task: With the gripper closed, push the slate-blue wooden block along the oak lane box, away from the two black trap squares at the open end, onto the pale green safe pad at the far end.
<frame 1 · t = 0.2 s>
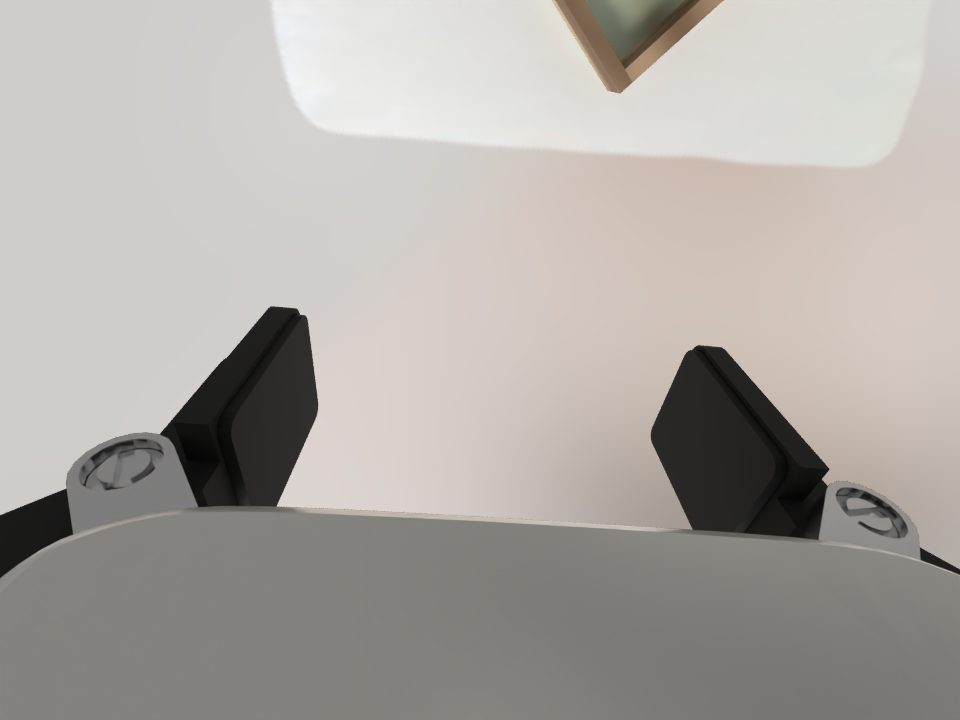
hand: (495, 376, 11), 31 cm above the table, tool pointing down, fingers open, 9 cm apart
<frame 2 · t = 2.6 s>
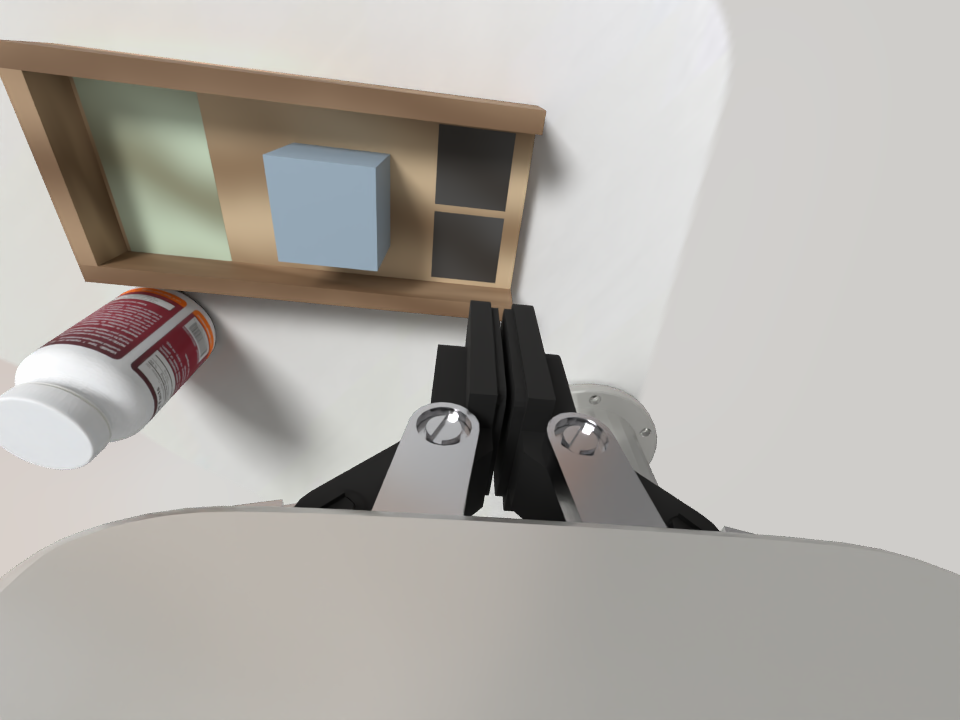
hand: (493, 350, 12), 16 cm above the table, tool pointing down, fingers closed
pill bottle: (174, 322, 30), on the table
block: (345, 197, 24), point 1 cm above the table, touching lane box
lane box: (314, 189, 25), on the table
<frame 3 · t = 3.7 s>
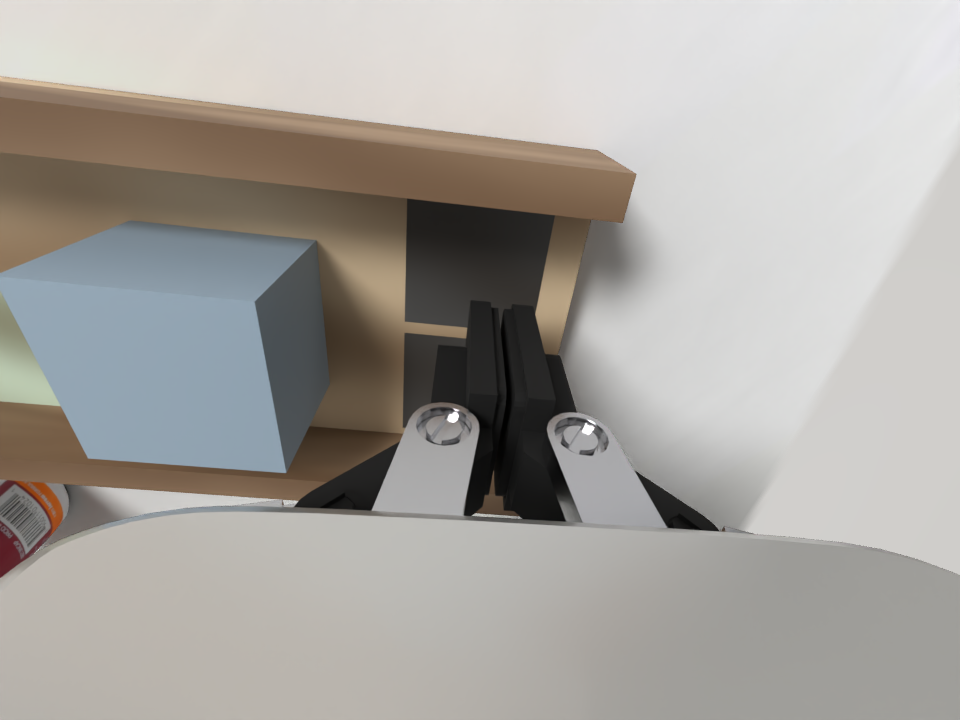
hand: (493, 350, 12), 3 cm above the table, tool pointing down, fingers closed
pill bottle: (2, 475, 19), on the table
block: (241, 311, 13), point 1 cm above the table, touching lane box
lane box: (191, 291, 14), on the table
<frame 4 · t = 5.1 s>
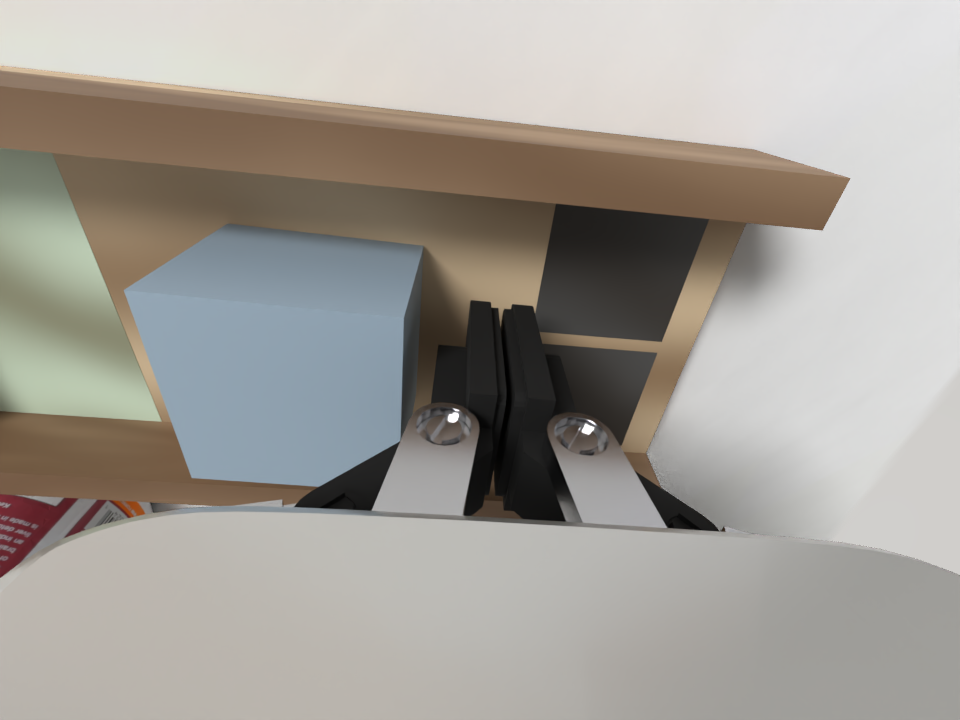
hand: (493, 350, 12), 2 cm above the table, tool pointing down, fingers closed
pill bottle: (84, 489, 19), on the table
block: (333, 319, 13), point 1 cm above the table, touching gripper, lane box
lane box: (304, 302, 14), on the table
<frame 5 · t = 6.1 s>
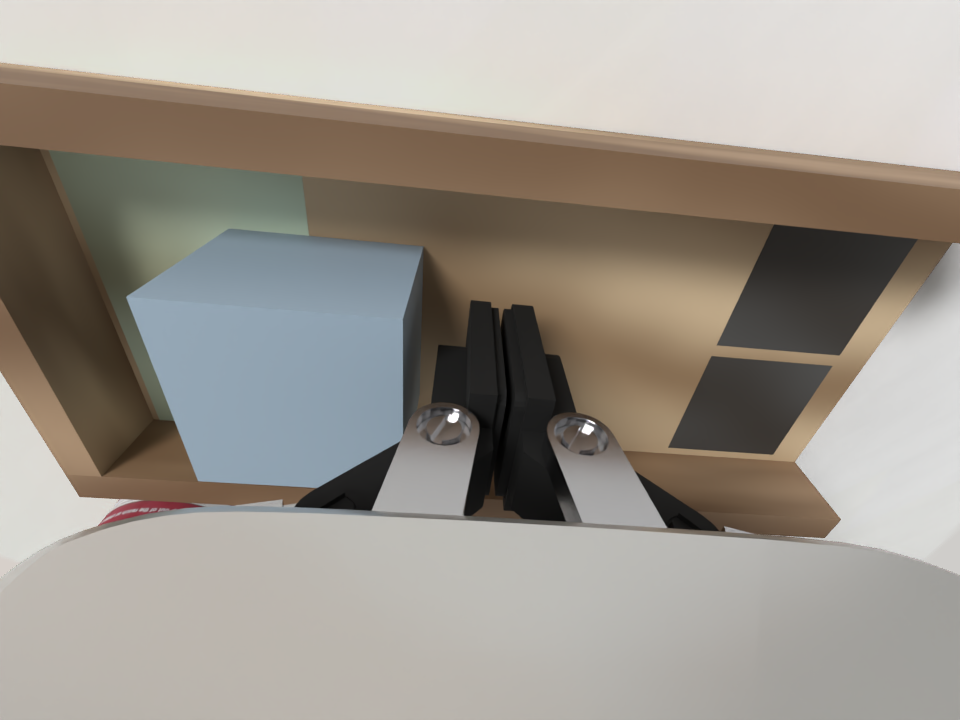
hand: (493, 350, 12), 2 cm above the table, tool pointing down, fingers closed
pill bottle: (222, 495, 19), on the table
block: (335, 321, 13), point 1 cm above the table, touching gripper, lane box
lane box: (488, 316, 14), on the table
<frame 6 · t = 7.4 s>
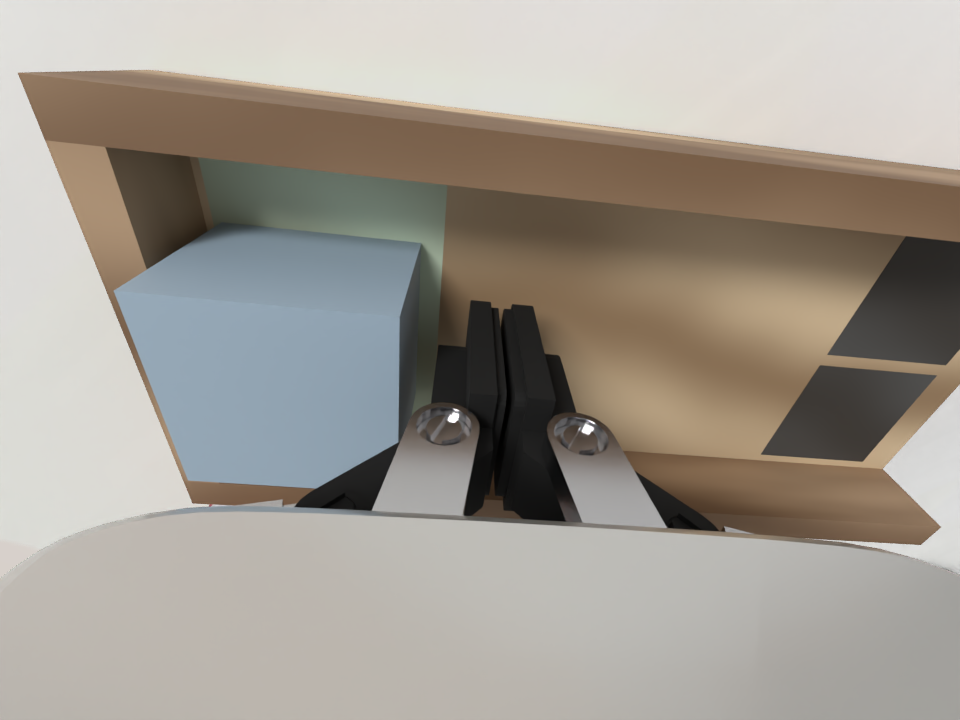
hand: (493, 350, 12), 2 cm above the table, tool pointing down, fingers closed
block: (330, 318, 13), point 1 cm above the table, touching gripper, lane box
lane box: (597, 324, 14), on the table
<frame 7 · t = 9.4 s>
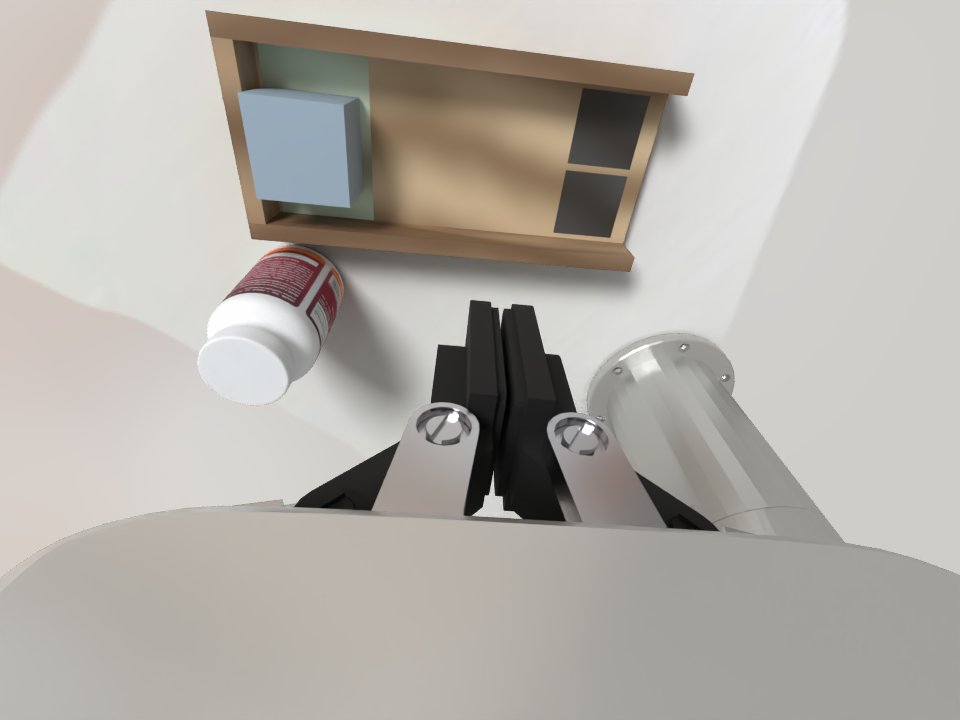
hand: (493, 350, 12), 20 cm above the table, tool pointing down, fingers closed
pill bottle: (304, 281, 32), on the table
block: (318, 141, 26), point 1 cm above the table, touching lane box
lane box: (454, 151, 27), on the table
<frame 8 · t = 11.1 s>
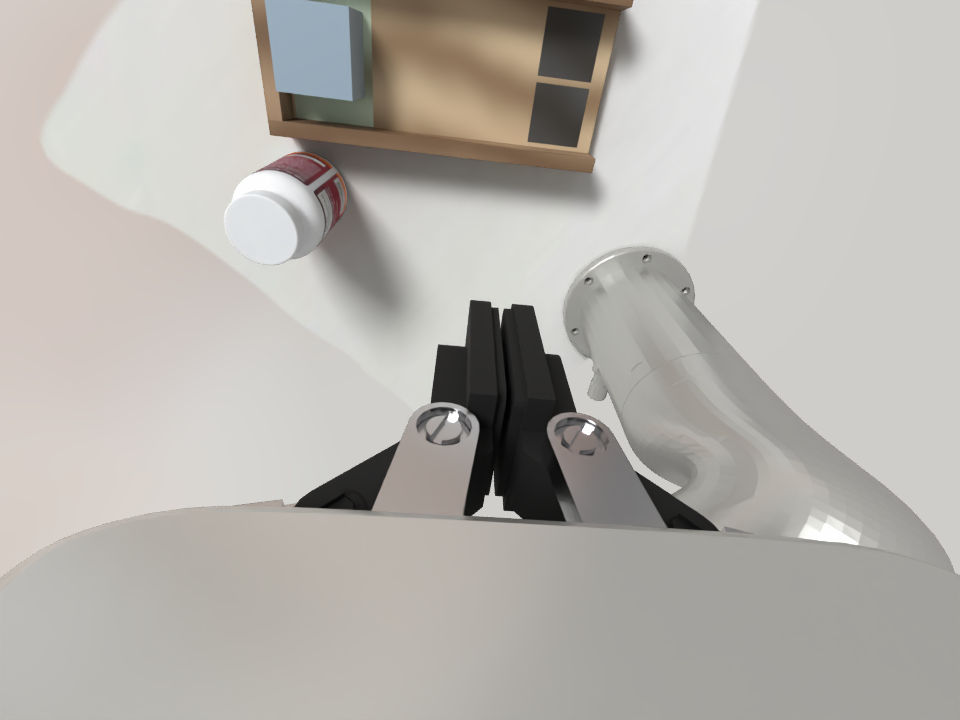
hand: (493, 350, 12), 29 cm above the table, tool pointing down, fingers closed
pill bottle: (313, 189, 37), on the table
block: (328, 51, 31), point 1 cm above the table, touching lane box
lane box: (442, 66, 32), on the table
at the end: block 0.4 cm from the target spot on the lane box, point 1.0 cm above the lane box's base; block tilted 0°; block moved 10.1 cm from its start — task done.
